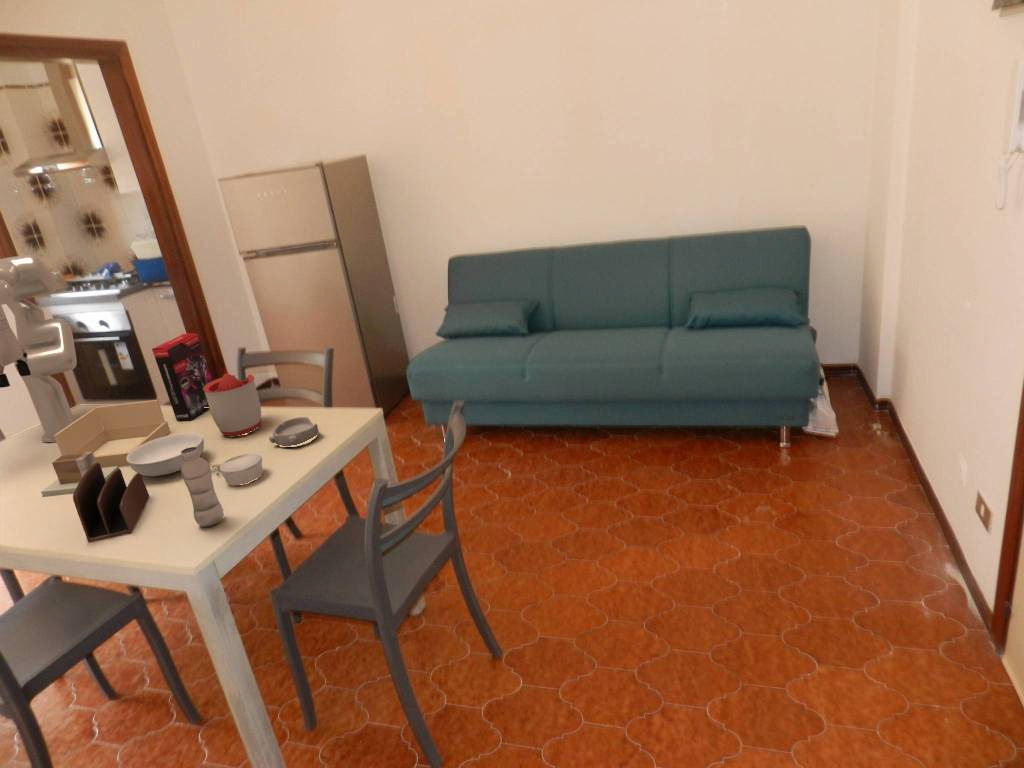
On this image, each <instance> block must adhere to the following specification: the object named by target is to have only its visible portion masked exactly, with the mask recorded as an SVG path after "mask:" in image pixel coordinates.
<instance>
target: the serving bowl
mask: <svg viewBox="0 0 1024 768" xmlns="http://www.w3.org/2000/svg"><path fill="white" fill-rule="evenodd" d="M189 447H197V448H198V451H199V453H200V456H199V457H201V455H202V454H203V451H204V447H205V443H204V437H203V435H202V434H199V433H196V432H181V433H180V432H179V433H174V434H170V435H169V434H168V435H167V436H165V437H161V438H158V439H155V440H152V441H149V442H147V443H145V444H143V445H141V446H139V447H137V448H135V449H134V450H132V449H131V450H132V451H131V450H130V451H131V452H130V451H129V452H130V453H129V454H128V455H127V458H126V460H127V462H128V464H129V467H130V469H131V470H133V471H134V472H136V474H137V473H140V474H141V476H142V475H143V476H146V477H158V476H164V475H171V474H174V473H176V471H177V472H179V471H181V468H182V465H183V463H184V460H183V459H182V455H181V451H182V450H184V449H186V448H189ZM173 472H174V473H173ZM170 473H171V474H170Z"/></svg>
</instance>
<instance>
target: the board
mask: <svg viewBox="0 0 1024 768" xmlns="http://www.w3.org/2000/svg"><path fill="white" fill-rule="evenodd" d="M101 469H102V472H103V475H104V478H105V481H107V479H108V478H109V477H110V476H111V474H112V473H113V472H114V471H115V470H117V469H120V467H118V466H115V467H107V468H101ZM78 484H79V482H77V483H68V484H60V482H59V479H58V478H56V479H55V480H54V481H53V482H52V483H51V484H49V485H48V486H46V487H45V488H44V489H42V490H41V491H40V493H41V495H42V497H47V496H46V495H52V496H58V494H61V495H68V493H69V494H74V491H75V489H76V488H77V486H78Z"/></svg>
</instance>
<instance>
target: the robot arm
mask: <svg viewBox="0 0 1024 768" xmlns="http://www.w3.org/2000/svg"><path fill="white" fill-rule="evenodd" d="M57 290H58V281H57V279H56V277H55V276H54V274H53V272H52V271H51V269H49V267H48V266H47V264H45V263H44V261H42V260H41V259H40V258H39V257H38V256H37V255H36V256H35V255H33V254H23V255H15V256H10V257H5V258H0V388H1V389H2V388H9V387H10V386H11V383H10V382H9V379H8V376H7V373H4V371H5V367H6V366H9V365H11V364H13V363H14V364H13V365H14V367H15V370H16V371H17V373H18V374H19V377H20V378H21V379H22V381H23V384H24V385H25V386H26V389H27V392H28V394H29V397H30V399H31V402H32V404H33V406H34V409H35V412H36V414H37V417H38V420H39V421H40V425H41V427H42V430H43V432H44V434H43V435H42V436H41V437H40V438H41V441H42V442H43V443H46V442H51V443H57V442H56V439H55V437H54V435H55V434H57V433H58V432H60V431H61V430H63V429H64V428H66V427H67V426H69V425H70V424H71V423H73V422H74V421H76V420H77V419H79V418H80V417H82V415H81V414H76V415H75V416H74V415H73V412H72V411H71V408H70V405H69V402H68V399H67V397H66V394H65V392H64V389H63V386H62V384H61V383H60V382H59V381H58V380H57V379H56V378H54V377H52V376H51V375H57V374H60V373H67V372H68V371H69V372H70V371H73V370H74V369H75V368H76V366H77V361H78V360H77V354H76V347H75V341H74V335H73V331H72V328H71V325H70V324H69V321H67V320H66V319H64V318H61V317H54V318H48V319H45V313H44V310H43V309H42V308H41V307H39V306H38V305H36V304H35V303H33V302H31V301H28V300H27V299H30V298H36V297H42V296H48V295H51V294H55V292H56V291H57ZM3 305H6V306H7V307H8V309H10V311H11V312H12V314H13V316H14V320H15V329H16V335H15V332H14V331H13V328H12V327H11V326H10V324H9V323H10V322H9V321H8V319H7V315H6V313H5V311H4V308H3Z"/></svg>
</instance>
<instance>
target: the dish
mask: <svg viewBox="0 0 1024 768" xmlns="http://www.w3.org/2000/svg"><path fill="white" fill-rule="evenodd" d="M317 433H318V434H319V427H318V424H317V423H313V422H312V421H311V419H310V418H309V417H307V416H299V417H293V418H290V419H287V420H284V421H283V422H281V423H278V424H277V425H276V426H275V428H273V430H272V435H270V436H269V438H268V439H269V442H270V443H272V444H278V445H282V446H291V445H297V444H300V443H303V442H305V441H307V440H309V439H311V438H313V437H314V436H316V435H317Z"/></svg>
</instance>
